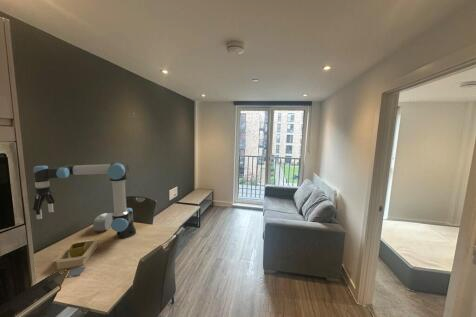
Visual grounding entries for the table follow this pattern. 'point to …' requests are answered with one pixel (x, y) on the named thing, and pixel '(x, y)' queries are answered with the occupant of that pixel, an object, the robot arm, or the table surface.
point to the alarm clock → (102, 222)
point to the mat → (75, 271)
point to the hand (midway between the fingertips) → (45, 215)
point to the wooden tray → (67, 262)
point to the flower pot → (78, 249)
